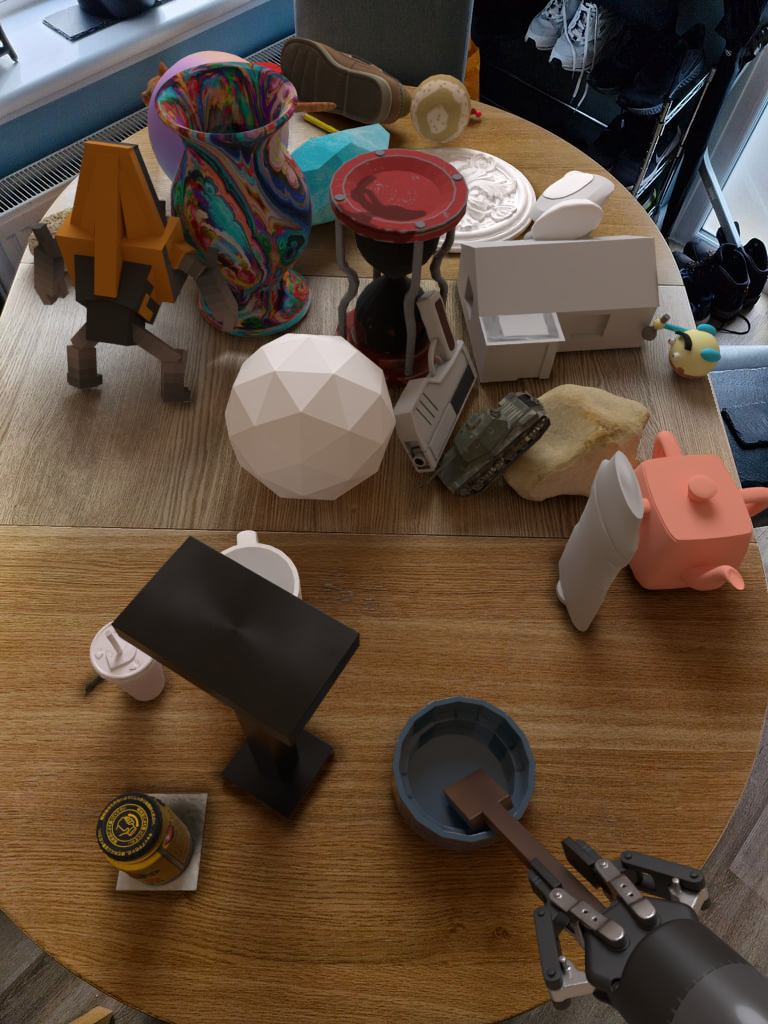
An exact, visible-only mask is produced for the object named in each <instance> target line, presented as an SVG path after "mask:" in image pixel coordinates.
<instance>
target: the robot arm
mask: <svg viewBox="0 0 768 1024" xmlns="http://www.w3.org/2000/svg"><path fill="white" fill-rule="evenodd" d="M560 844H561V847H562V850H563V853H564V856H565V858H566V861H567V863H569V865H570V866H571V867H572V868H574V869H575V871H577V872H578V873H579V875H581V876H582V877H583V878H584V879H585V880H586V881H587V882H588V883H589V884H590V885H591V886H592V887H593V888H594V889H595V890H598V889H600V888H601V891H602V893H603V895H604V896H605V897H606V899H607V900H608V901H609V903H610V904H609V905H608V906H607V907H606V908H605V909H603V910H600V911H597V910H596V909H595V908H593V907H592V906H591V905H589V904H588V903H587V902H585V901H584V900H582V899H581V900H580V901H578V900H577V899H576V898H574V897H573V896H572V895H570V894H569V893H568V892H566V891H565V890H564V889H563V886H562V883H561V882H560V881H559V880H558V879H557V878H556V877H555V876H554V875H553V874H552V873H551V872H550V871H549V870H548V869H547V868H546V867H545V866H544V865H543V864H542V863H541V862H540V861H539V860H538V859H537V858H536V857H535V858H534V859H532V860H531V861H529V862H528V866H529V869H530V870H528V869H527V871H526V875H527V878H528V881H529V884H530V887H531V890H532V892H533V894H534V895H535V896H536V897H537V898H538V899H539V900H540V901H541V902H542V903H543V904H544V906H538V907H536V908H535V909H534V910H533V913H532V916H533V923H534V930H535V937H536V942H537V950H538V955H539V963H540V967H541V975H542V978H543V981H544V985H545V987H546V990H547V993H548V995H549V998H550V1001H551V1004H552V1007H553V1008H554V1009H555V1010H557V1011H561V1012H562V1011H566V1010H568V1009H569V1008H570V1006H571V1004H572V998H576V997H581V996H587V995H592V996H593V997H594V998H595V999H596V1000H597V1001H599V1002H601V1003H604V1004H606V1005H608V1006H610V1007H612V1008H614V1009H615V1010H616V1011H617V1013H619V1015H620V1016H621V1017H622V1019H623V1020H624V1021H625V1023H627V1024H768V977H767V976H766V975H764V974H763V973H762V972H761V971H760V970H759V969H757V968H756V967H755V966H754V965H753V964H751V963H750V962H749V961H748V959H746V958H744V957H743V956H742V955H741V954H739V952H737V951H736V950H735V949H734V948H733V947H732V946H730V945H729V944H728V943H727V942H726V941H724V940H723V939H722V938H721V937H720V936H718V935H717V934H716V933H715V932H714V931H712V930H711V929H710V927H708V926H706V924H704V923H702V922H701V921H700V920H699V917H698V915H699V913H700V911H707V910H709V909H710V908H712V907H711V906H712V899H711V896H710V892H709V889H708V885H707V882H706V878H705V874H704V872H703V871H702V870H701V869H699V868H696V867H692V866H688V865H684V864H681V863H677V862H675V861H674V862H673V861H671V860H668V859H667V860H666V859H663V858H660V857H655V856H652V855H650V854H649V855H648V854H645V853H642V852H638V851H635V850H632V849H631V850H630V849H629V850H628V849H627V850H624V851H622V852H621V853H620V855H619V858H617V859H613V860H610V859H609V858H608V857H607V858H606V857H603V856H601V855H600V854H599V853H598V852H597V851H595V849H593V848H592V847H591V846H590V845H589V844H588V843H586V842H585V841H584V840H582V839H579V838H578V839H576V840H574V839H573V838H572V837H571V836H567V837H566V838H564V839H562V840H561V841H560ZM642 893H645V894H646V895H643V894H642ZM647 894H648V895H651V896H647ZM563 931H565V932H567V933H568V934H569V935H570V936H571V937H573V938H574V939H575V940H576V942H577V944H578V945H579V946H580V948H581V949H583V951H584V970H582V969H578V968H577V967H576V966H575V963H574V962H573V961H572V960H571V959H570V958H567V957H566V955H564V954H563V950H562V947H561V946H562V945H561V940H560V937H559V936H560V935H561V933H562V932H563Z"/></svg>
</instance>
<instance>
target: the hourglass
mask: <svg viewBox="0 0 768 1024" xmlns="http://www.w3.org/2000/svg"><path fill="white" fill-rule="evenodd" d="M416 150H417V149H407V148H388V149H382V150H375V151H372V152H368V153H364V154H360V155H358V156H356V157H354V158H352V159H351V160H349V161H347V162H345V163H344V164H343V165H342V166H341V167H340V168H339V169H338V170H337V171H336V172H335V173H334V174H333V177H332V180H331V183H330V186H329V195H330V202H331V207H332V211H333V213H334V214H335V220H334V223H335V256H336V257H335V258H336V264H337V266H338V268H339V270H340V271H341V272H343V273H344V274H345V275H346V278H347V281H348V288H347V291H346V292H345V293H344V295H343V296H342V297H341V298H340V301H339V304H338V306H337V317H338V318H337V326H336V330H335V334H334V336H341V337H343V338H344V339H345V340H346V341H347V342H349V343H350V344H351V345H352V346H354V347H355V348H356V349H357V350H358V351H360V352H361V353H362V354H363V355H365V356H366V357H367V358H368V359H370V360H371V361H372V362H373V363H374V364H376V365H377V366H378V367H379V368H381V369H382V370H383V374H384V377H385V381H386V385H387V388H389V387H390V388H397V387H406V386H407V384H408V382H409V380H414V379H420V378H426V377H427V375H428V374H429V373H430V371H429V365H428V352H429V347H430V344H431V342H430V340H429V338H428V334H427V331H426V328H425V325H424V323H423V321H422V318H421V314H420V311H419V308H418V306H417V304H416V302H417V301H418V299H419V298H420V297H421V296H422V295H423V294H424V293H425V292H426V291H424V289H423V288H422V286H421V280H422V279H421V277H422V268H423V266H424V265H426V264H427V263H428V261H429V260H430V259H431V261H430V263H429V272H430V277H431V279H432V280H433V281H435V282H436V283H437V285H438V288H439V293H440V295H441V298H442V300H443V303H444V307H445V310H446V309H447V302H448V294H449V285H448V281H447V279H446V278H445V277H443V276H442V274H441V265H442V262H443V259H444V258H445V257H446V256H447V254H448V253H450V252H449V251H450V249H451V247H452V245H453V243H454V237H455V229H456V226H457V225H458V224H459V222H460V221H461V219H462V218H463V217H464V215H465V214H466V207H467V201H468V194H469V189H468V186H467V184H466V181H465V178H464V177H463V176H462V175H461V174H460V172H459V171H458V170H457V169H456V168H455V167H454V166H453V165H451V164H449V163H448V162H446V161H444V160H442V159H441V158H439V157H437V156H434V155H431V154H427V153H424V152H421V151H416ZM346 228H347V229H349V230H351V231H352V232H353V235H354V241H355V245H356V248H357V250H358V251H359V254H360V255H361V256H362V258H363V259H364V260H365V262H366V263H368V264H369V265H370V266H371V267H372V281H370V282H369V283H368V284H366V286H365V287H364V288H363V290H362V291H361V292H360V294H359V295H358V297H357V299H356V302H355V306H354V308H353V309H351V310H350V311H348V312H347V310H348V307H349V305H350V303H352V300H354V298H355V297H356V296H357V294H358V290H359V287H360V283H361V281H360V279H359V275H358V272H357V271H356V270H355V269H354V268H353V267H351V266H350V264H349V263H348V261H347V259H346V256H347V255H346ZM445 233H446V238H445V240H444V242H443V244H442V246H441V248H440V249H439V250H438V251H436V249H437V247H438V243H439V239H440V236H442V235H443V234H445ZM431 257H432V258H431ZM410 274H411V277H409V276H408V275H410ZM436 363H437V360H436V358H435V355H434V366H435V364H436Z"/></svg>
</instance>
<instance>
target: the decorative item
mask: <svg viewBox="0 0 768 1024" xmlns="http://www.w3.org/2000/svg"><path fill="white" fill-rule="evenodd" d="M72 209H73V206H69V207H67V208H64V209H63V210H60V211H58V212H54V213H52V214H50V215H48V216H45V217H43V218H42V219H41V220H39V222H38V223H46V225H47V227H48V229H49V231H50V233H51V235H52V237H53V238H55V234H56V233H55V232H57V231H58V229H59V228H60V227H61V225H62V224H63V222H64V221H65V219H66V218H67V216H68V215H69V214H70V212H71V211H72ZM38 244H39V243H38V241H37V239H36V237H35V235H34V233H33V231H32V230H31V233H30V235H29V237H28V242H27V245H28V246H27V247H28V250H29V253H30V254H31V256H33V257H34V248H35V247H36V246H37V245H38ZM64 272H67V273H68V270H67V268H66V265H65V267H64Z"/></svg>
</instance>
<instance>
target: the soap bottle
mask: <svg viewBox="0 0 768 1024" xmlns="http://www.w3.org/2000/svg"><path fill="white" fill-rule="evenodd" d="M615 187H616V186H615V184H614V183H613V181H612V180H610V179H608V178H607V177H604V176H602V175H599V174H594V173H587V172H582V171H579V170H570V171H568V172H567V173H565V174H564V176H563V177H562V178H560V179H558V180H556V181H555V182H554V183H552V184H550V185H549V186H548V187H547V188H546V189H545V190H544V191H543V193H542V194H541V195H540V196H539V197H538V198H537V199H536V203H535V204H534V205H533V207H532V208H531V210H530V213H529V217H530V218H531V219H532V221H533V222H534V223H533V225H532V226H531V230H530V231H531V235H532V236H533V238H534V239H535V240H536V241H541V240H575V239H578V238H580V237H582V236H584V235H586V234H587V233H589V232H590V231H591V230H593V229H594V228H595V229H596V228H598V226H600V223H601V222H602V221H603V219H604V214H605V213H604V210H603V209H602V208H603V207H604V205H605V204H606V202H607V201H608V200H609V198H610V197H611V196H612V194H613V192H614V191H615ZM595 229H594V230H595ZM594 230H593V231H594Z"/></svg>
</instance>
